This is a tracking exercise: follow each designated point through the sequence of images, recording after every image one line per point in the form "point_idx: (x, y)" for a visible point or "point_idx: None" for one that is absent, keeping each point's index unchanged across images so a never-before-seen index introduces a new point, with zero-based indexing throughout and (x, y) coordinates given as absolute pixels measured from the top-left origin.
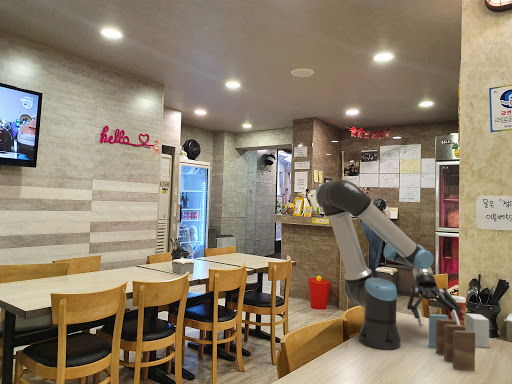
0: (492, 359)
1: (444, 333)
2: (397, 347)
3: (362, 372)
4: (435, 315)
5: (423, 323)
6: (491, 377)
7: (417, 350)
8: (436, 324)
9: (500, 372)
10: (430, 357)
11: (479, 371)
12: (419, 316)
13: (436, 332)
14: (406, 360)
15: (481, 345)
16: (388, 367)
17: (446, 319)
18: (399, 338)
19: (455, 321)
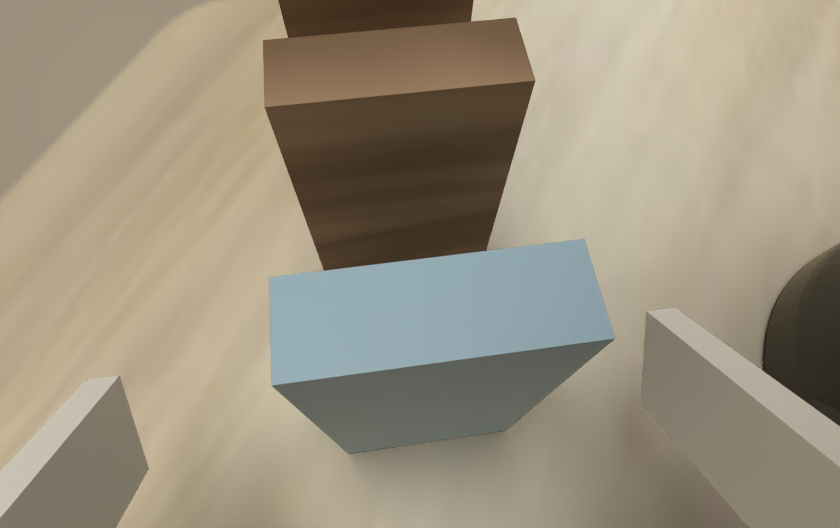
0: (63, 251)
1: (471, 10)
2: (788, 285)
3: None
4: (503, 271)
5: (655, 314)
6: (263, 7)
7: (620, 296)
8: (518, 133)
9: (164, 68)
10: (540, 185)
11: None
12: (763, 378)
13: (501, 190)
14: (706, 108)
15: None
16: (801, 10)
17: (377, 94)
18: (823, 314)
19: (272, 40)
